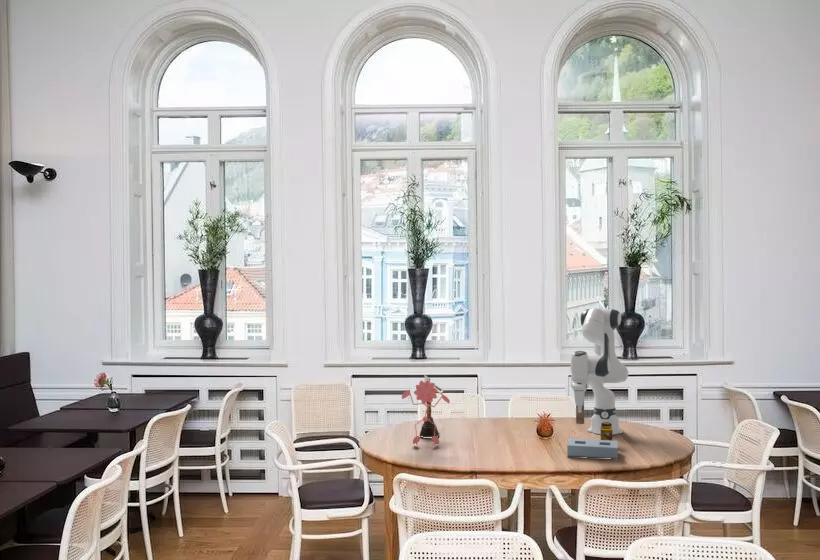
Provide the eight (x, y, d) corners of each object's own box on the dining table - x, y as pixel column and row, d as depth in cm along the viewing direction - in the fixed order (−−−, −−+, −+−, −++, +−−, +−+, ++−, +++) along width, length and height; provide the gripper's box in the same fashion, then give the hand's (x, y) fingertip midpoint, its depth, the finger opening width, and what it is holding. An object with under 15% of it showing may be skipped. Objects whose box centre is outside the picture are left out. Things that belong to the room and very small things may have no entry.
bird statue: (448, 433, 406) (447, 372, 405) (448, 438, 393) (447, 375, 392) (419, 433, 407) (418, 372, 406) (418, 438, 394) (417, 376, 393)
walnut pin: (576, 422, 360) (575, 394, 360) (584, 422, 359) (584, 394, 359) (575, 423, 356) (575, 396, 356) (584, 424, 355) (583, 396, 355)
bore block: (568, 449, 366) (568, 438, 366) (617, 452, 360) (617, 440, 360) (567, 457, 353) (567, 445, 353) (617, 460, 347) (617, 448, 346)
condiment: (610, 448, 369) (610, 425, 368) (594, 446, 374) (594, 423, 373) (615, 445, 375) (615, 422, 375) (599, 442, 380) (599, 420, 379)
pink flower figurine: (449, 449, 371) (448, 382, 370) (401, 448, 374) (399, 382, 373) (451, 441, 386) (451, 377, 385) (404, 441, 390) (403, 377, 389)
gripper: (574, 380, 368) (574, 406, 368) (572, 387, 348) (572, 415, 349) (586, 380, 366) (586, 407, 367) (585, 387, 347) (585, 415, 347)
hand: (580, 411), depth 357 cm, fingers closed on walnut pin, 4 cm apart
